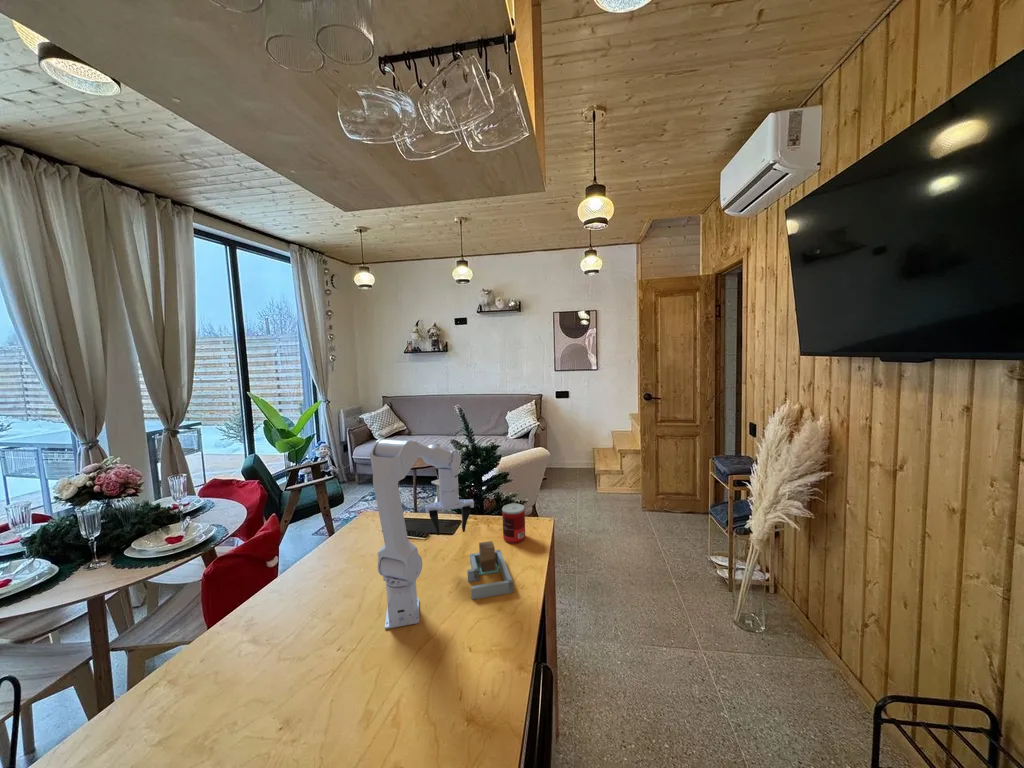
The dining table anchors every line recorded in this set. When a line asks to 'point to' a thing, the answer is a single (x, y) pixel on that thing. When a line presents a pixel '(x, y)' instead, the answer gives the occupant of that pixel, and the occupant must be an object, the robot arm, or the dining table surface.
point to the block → (487, 556)
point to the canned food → (513, 523)
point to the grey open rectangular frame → (489, 588)
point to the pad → (487, 571)
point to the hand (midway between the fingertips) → (451, 532)
